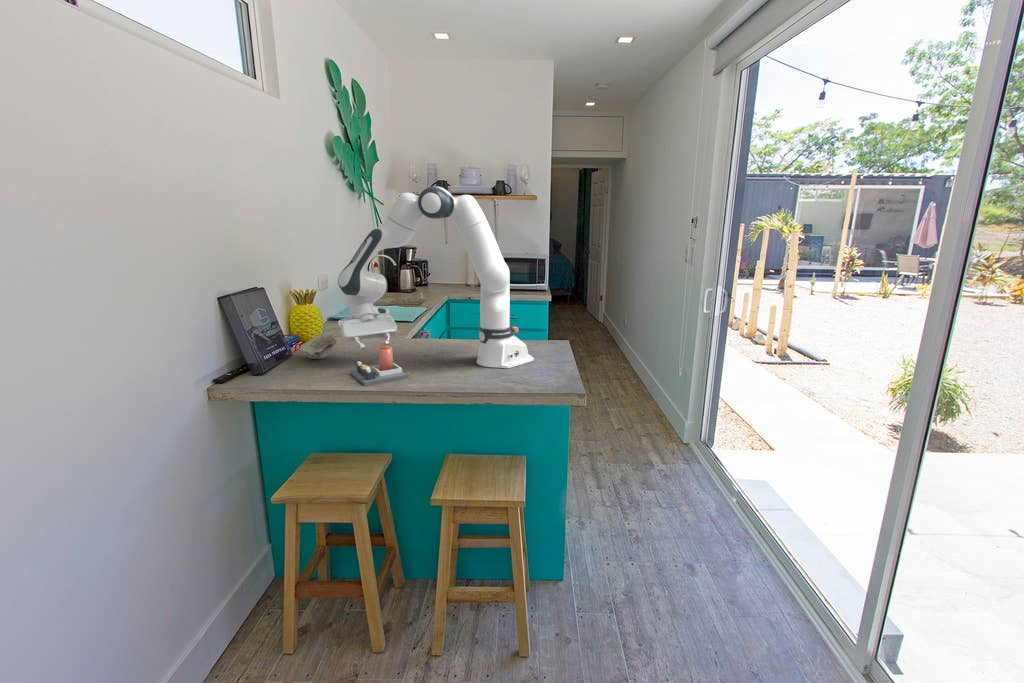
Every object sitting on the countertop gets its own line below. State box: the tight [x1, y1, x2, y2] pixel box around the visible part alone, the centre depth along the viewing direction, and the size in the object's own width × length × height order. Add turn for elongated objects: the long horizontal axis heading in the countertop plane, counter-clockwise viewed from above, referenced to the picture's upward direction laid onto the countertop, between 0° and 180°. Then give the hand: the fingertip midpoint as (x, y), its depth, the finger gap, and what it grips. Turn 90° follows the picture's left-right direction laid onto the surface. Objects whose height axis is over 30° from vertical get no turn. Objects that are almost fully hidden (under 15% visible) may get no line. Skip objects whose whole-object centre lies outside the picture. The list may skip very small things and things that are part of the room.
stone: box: [299, 331, 338, 360], centre depth 196 cm, size 11×14×10 cm
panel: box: [350, 361, 408, 387], centre depth 176 cm, size 15×15×5 cm
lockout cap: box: [378, 345, 394, 371], centre depth 177 cm, size 5×5×9 cm
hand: (375, 347), depth 184 cm, fingers open, 8 cm apart
